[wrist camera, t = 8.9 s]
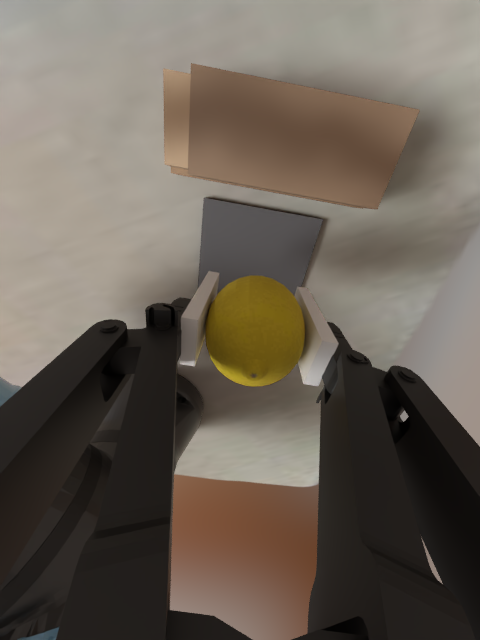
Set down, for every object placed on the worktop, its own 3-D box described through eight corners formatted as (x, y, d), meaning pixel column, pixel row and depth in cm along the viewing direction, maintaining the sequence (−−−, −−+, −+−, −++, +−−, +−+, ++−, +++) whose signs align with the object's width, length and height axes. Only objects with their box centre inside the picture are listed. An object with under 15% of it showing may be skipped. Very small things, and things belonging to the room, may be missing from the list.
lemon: (294, 258, 14) (331, 317, 7) (290, 328, 17) (314, 419, 10) (212, 262, 15) (175, 321, 8) (221, 330, 18) (199, 418, 11)
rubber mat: (289, 318, 26) (290, 321, 25) (197, 303, 26) (196, 305, 25) (321, 218, 20) (322, 219, 20) (205, 197, 20) (203, 197, 20)
